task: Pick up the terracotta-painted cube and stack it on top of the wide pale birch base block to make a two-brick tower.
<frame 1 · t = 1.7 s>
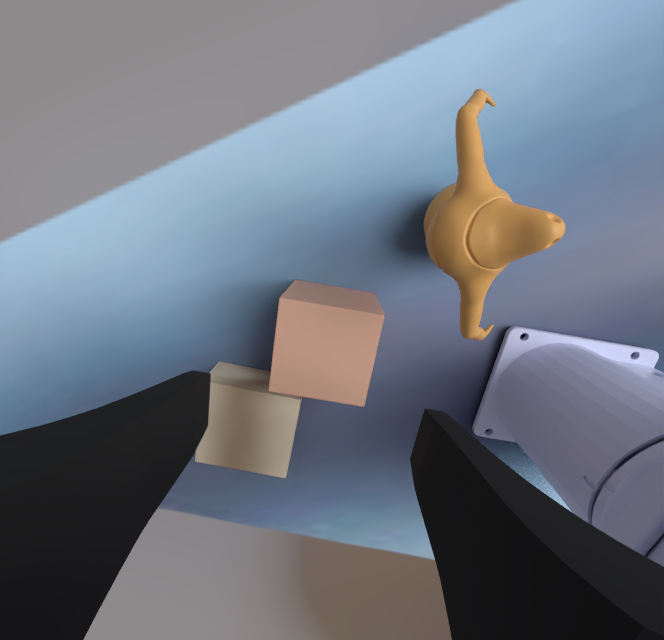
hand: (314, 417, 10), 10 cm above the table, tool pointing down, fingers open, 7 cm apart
figurine: (432, 225, 18), on the table
terracotta cube: (328, 323, 20), on the table
birch base block: (258, 405, 22), on the table
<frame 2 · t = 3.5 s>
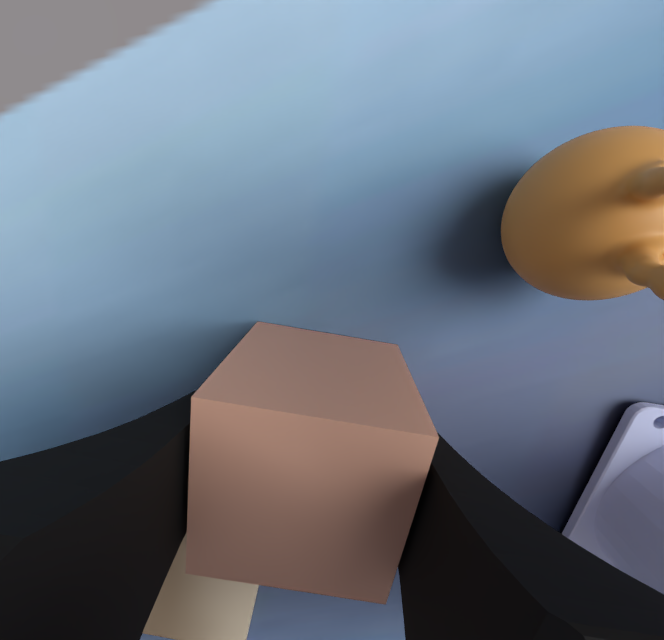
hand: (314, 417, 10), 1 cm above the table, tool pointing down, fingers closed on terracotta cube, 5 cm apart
figurine: (505, 225, 10), on the table
terracotta cube: (317, 394, 12), on the table, touching gripper
birch base block: (207, 511, 14), on the table
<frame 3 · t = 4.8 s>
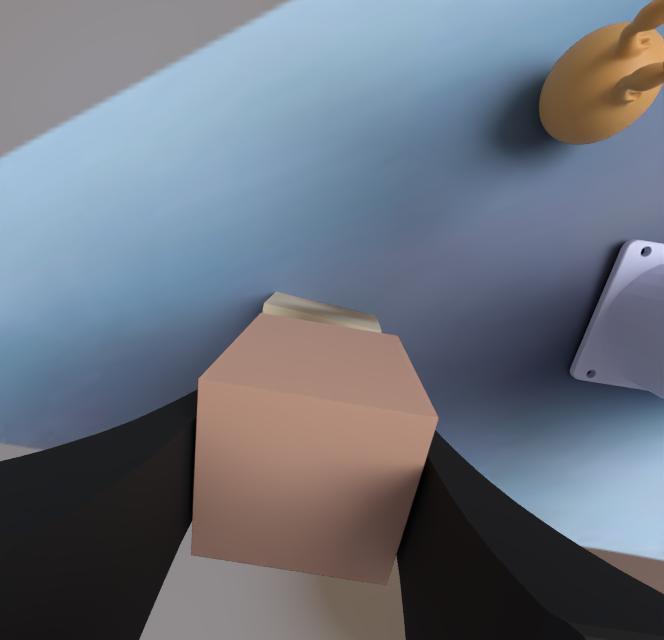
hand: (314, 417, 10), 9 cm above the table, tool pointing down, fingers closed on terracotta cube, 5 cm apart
figurine: (539, 112, 15), on the table
terracotta cube: (318, 385, 12), point 7 cm above the table, touching gripper
birch base block: (315, 348, 19), on the table
when the fingers open (5 cm above the table, at t = 6.3 s): terracotta cube drops 1 cm, resting on birch base block.
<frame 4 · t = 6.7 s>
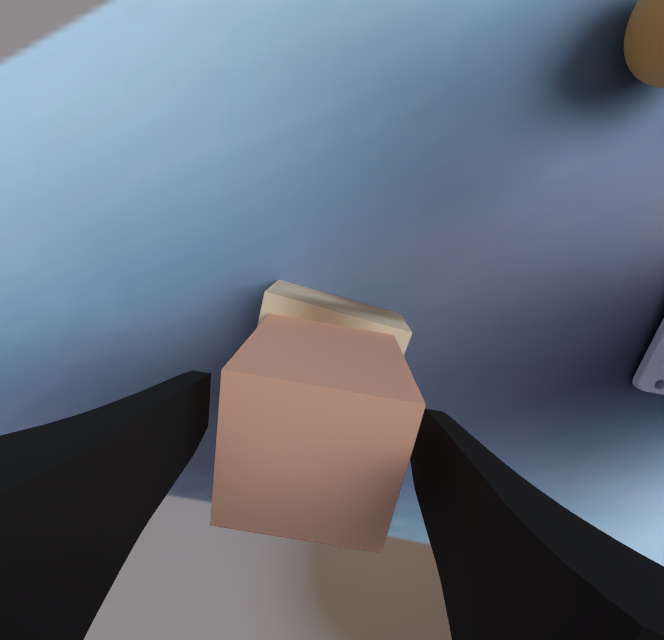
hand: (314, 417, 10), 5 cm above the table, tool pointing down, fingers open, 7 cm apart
figurine: (617, 51, 12), on the table
terracotta cube: (321, 380, 13), point 3 cm above the table, touching birch base block
birch base block: (323, 350, 16), on the table, touching terracotta cube
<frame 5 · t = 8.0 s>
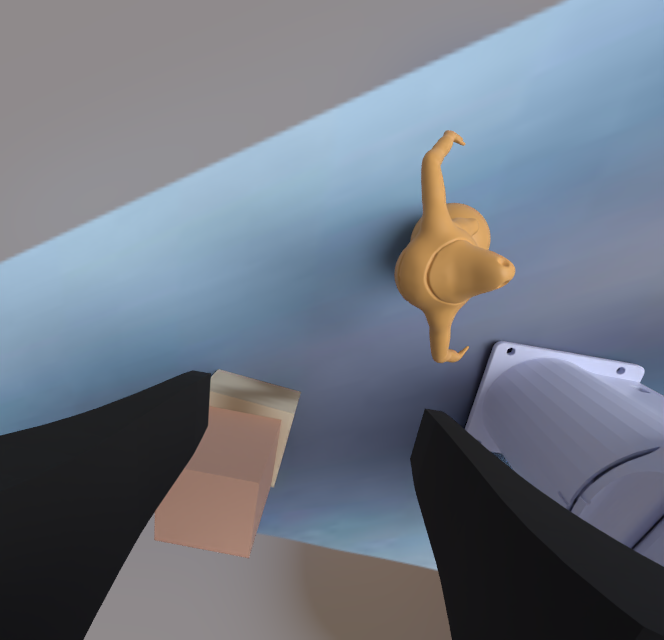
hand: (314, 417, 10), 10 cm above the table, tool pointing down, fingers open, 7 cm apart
figurine: (420, 243, 19), on the table
terracotta cube: (238, 444, 20), point 3 cm above the table
birch base block: (252, 413, 23), on the table
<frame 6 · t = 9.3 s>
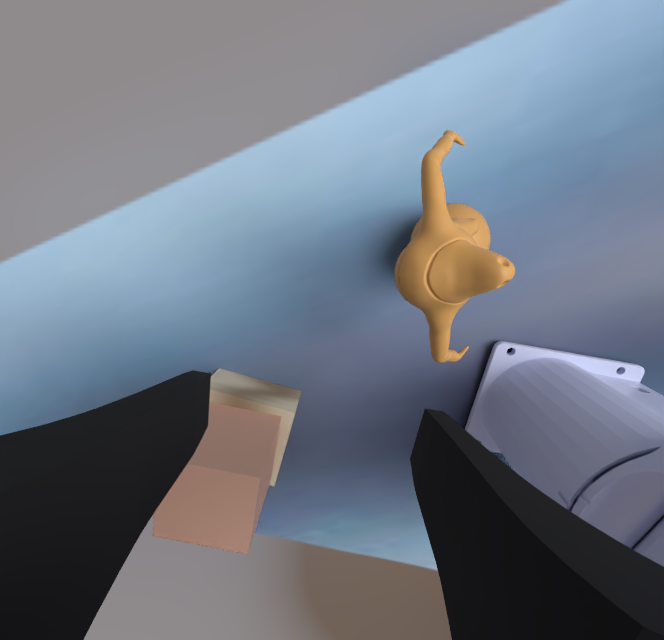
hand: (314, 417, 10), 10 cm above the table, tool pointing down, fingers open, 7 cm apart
figurine: (420, 243, 19), on the table
terracotta cube: (238, 441, 20), point 3 cm above the table
birch base block: (253, 412, 23), on the table
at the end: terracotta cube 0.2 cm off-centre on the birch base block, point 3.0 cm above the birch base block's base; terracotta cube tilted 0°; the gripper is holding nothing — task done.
